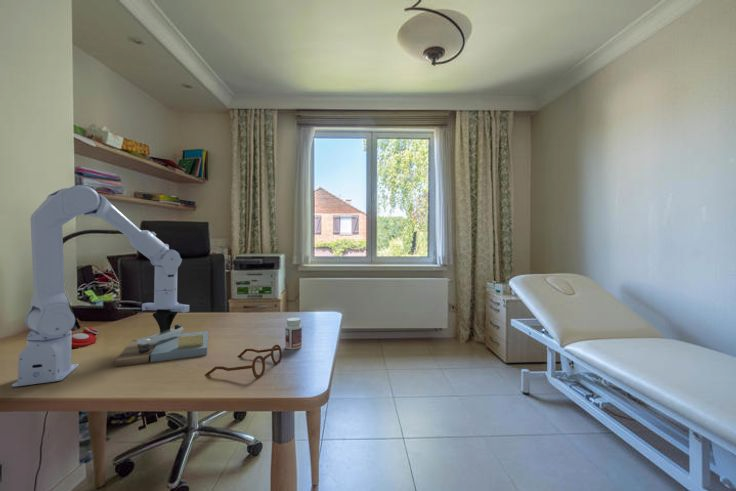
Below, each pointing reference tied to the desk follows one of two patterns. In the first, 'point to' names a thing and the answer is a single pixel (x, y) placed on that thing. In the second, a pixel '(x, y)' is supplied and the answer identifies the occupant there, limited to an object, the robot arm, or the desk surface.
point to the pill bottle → (293, 334)
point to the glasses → (253, 361)
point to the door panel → (170, 349)
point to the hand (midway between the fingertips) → (165, 335)
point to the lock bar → (159, 336)
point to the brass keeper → (190, 341)
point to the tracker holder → (84, 338)
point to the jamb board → (135, 354)
